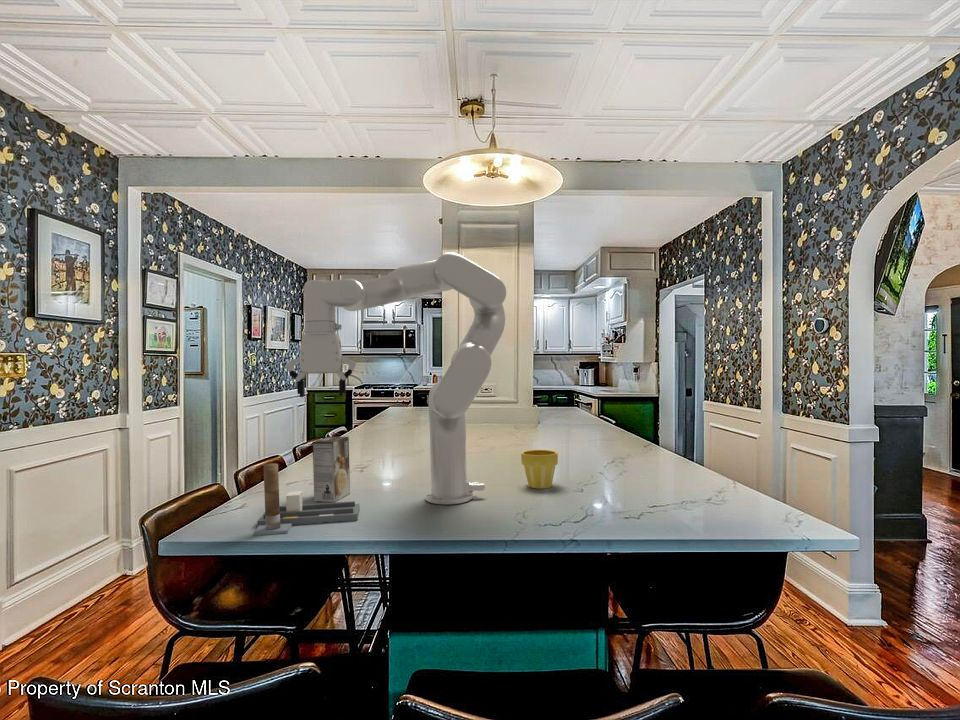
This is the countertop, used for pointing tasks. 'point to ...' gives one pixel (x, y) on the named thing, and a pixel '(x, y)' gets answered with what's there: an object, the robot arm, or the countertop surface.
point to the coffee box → (331, 468)
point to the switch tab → (294, 501)
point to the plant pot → (539, 467)
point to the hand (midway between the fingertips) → (322, 396)
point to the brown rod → (271, 496)
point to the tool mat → (283, 529)
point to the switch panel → (318, 513)
